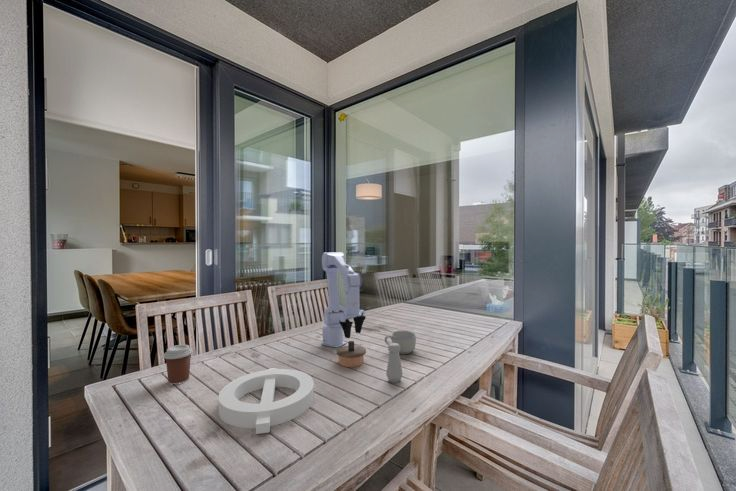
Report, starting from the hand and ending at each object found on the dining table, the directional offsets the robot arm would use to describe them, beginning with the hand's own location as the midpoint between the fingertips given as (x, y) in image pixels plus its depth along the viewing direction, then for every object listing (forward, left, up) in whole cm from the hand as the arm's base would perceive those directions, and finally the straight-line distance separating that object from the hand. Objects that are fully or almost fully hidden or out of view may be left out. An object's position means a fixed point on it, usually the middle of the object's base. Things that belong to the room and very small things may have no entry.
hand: (352, 335), depth 131 cm
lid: (+1, -2, -6) cm, 7 cm away
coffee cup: (-42, -48, -11) cm, 65 cm away
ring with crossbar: (-3, -41, -11) cm, 43 cm away
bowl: (+1, -2, -10) cm, 11 cm away
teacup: (+13, +19, -11) cm, 25 cm away
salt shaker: (+24, -8, -11) cm, 27 cm away
